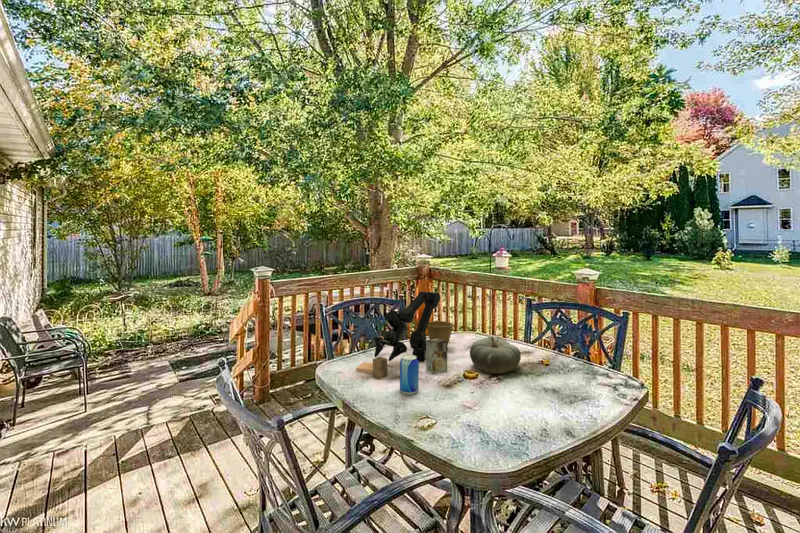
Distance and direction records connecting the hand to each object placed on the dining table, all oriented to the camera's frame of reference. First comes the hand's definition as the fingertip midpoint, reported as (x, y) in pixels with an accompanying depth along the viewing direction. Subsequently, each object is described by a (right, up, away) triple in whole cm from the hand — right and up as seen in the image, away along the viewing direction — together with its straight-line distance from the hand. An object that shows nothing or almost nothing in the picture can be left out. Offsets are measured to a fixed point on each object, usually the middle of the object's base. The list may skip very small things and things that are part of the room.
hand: (381, 358), depth 204 cm
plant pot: (+32, -4, +41) cm, 52 cm away
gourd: (+58, -8, +11) cm, 60 cm away
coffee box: (+28, -8, +8) cm, 30 cm away
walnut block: (-1, -9, 0) cm, 9 cm away
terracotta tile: (-8, -8, +9) cm, 15 cm away
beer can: (+13, -11, -17) cm, 24 cm away
